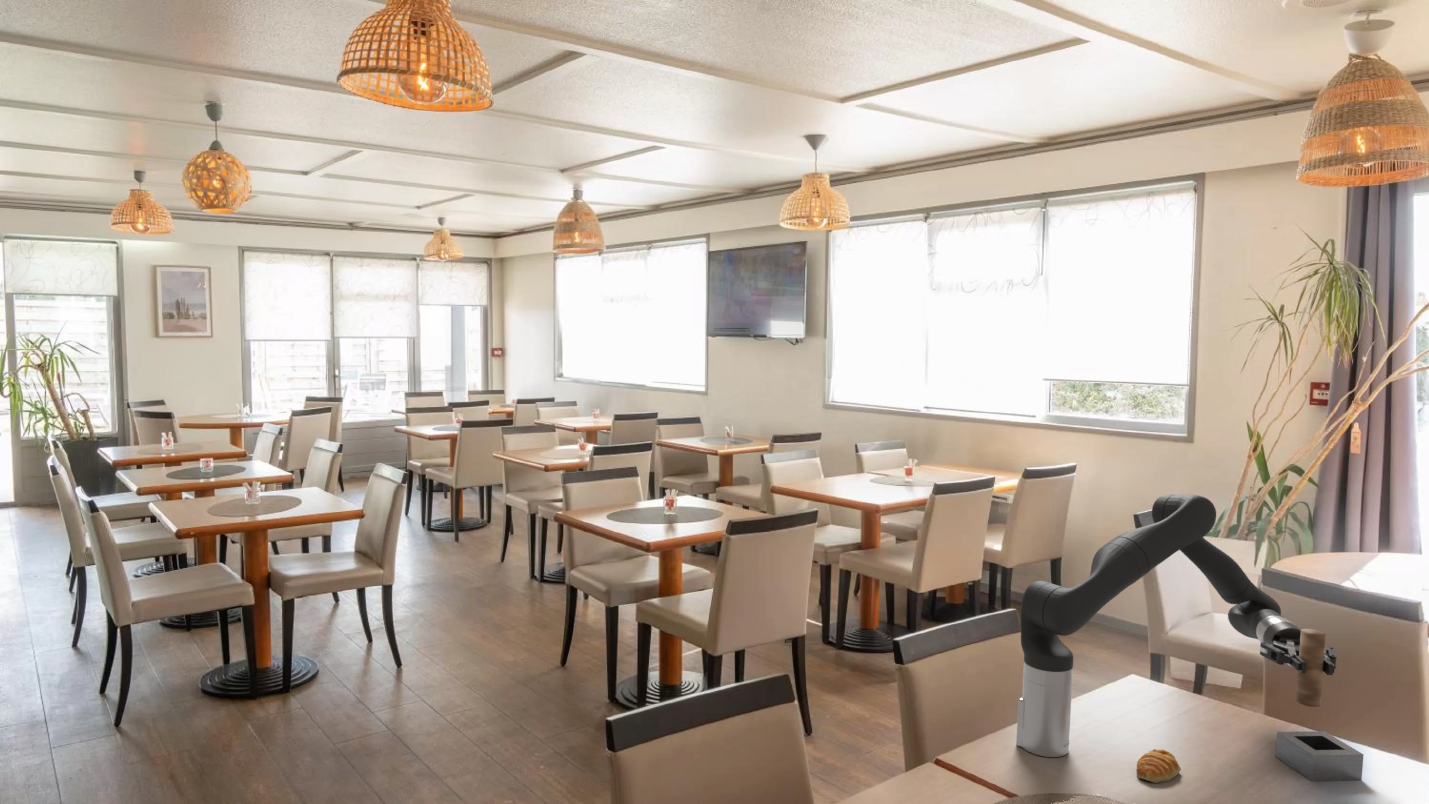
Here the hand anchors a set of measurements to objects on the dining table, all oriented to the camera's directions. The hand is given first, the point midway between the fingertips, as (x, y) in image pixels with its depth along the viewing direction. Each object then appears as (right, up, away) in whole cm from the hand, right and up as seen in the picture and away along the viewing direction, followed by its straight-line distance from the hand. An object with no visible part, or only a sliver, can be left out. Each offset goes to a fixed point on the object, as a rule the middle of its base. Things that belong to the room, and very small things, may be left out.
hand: (1317, 669), depth 174 cm
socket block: (+2, -20, +4) cm, 21 cm away
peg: (0, -7, +3) cm, 8 cm away
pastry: (-30, -20, 0) cm, 37 cm away
